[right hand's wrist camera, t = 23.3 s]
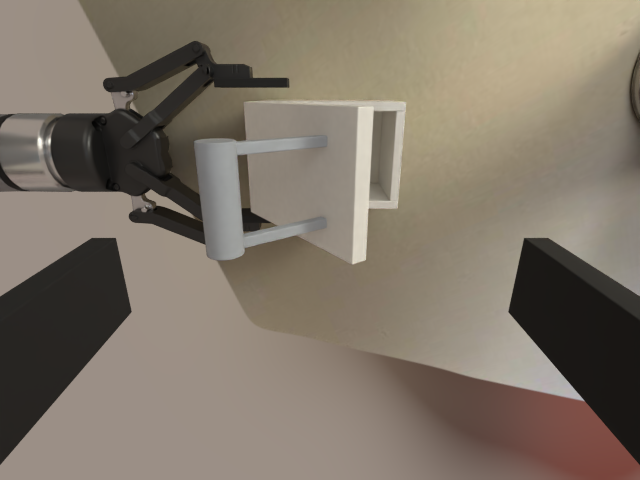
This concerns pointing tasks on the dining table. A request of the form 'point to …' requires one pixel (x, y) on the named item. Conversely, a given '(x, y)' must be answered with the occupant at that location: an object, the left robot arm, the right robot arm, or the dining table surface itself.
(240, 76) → the left robot arm
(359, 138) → the grey and white piece
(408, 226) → the dining table surface
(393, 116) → the chest
